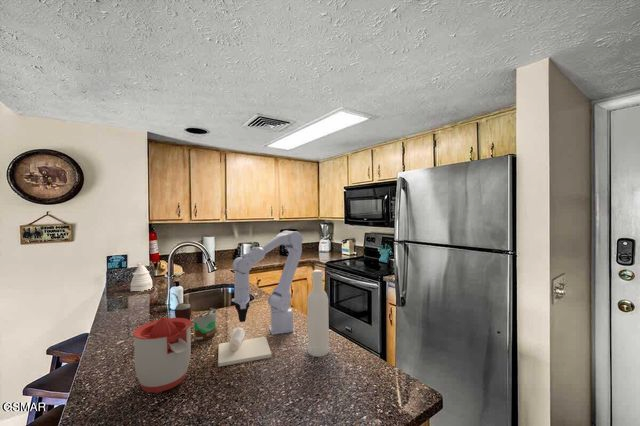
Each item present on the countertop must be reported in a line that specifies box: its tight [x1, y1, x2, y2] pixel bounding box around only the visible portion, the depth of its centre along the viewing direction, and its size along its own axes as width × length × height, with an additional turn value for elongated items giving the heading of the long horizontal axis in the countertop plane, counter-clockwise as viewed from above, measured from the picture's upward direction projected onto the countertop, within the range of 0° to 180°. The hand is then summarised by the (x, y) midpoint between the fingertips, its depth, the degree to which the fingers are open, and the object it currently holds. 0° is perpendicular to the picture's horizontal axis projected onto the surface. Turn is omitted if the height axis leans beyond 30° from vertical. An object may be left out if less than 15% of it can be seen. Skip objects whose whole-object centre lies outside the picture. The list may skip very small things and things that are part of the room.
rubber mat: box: [217, 336, 273, 368], centre depth 105 cm, size 18×15×1 cm
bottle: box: [306, 269, 330, 358], centre depth 104 cm, size 8×8×30 cm
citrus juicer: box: [132, 316, 192, 394], centre depth 86 cm, size 16×17×20 cm
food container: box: [192, 307, 218, 342], centre depth 118 cm, size 12×6×10 cm, turn 169°
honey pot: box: [130, 262, 153, 292], centre depth 195 cm, size 13×13×18 cm
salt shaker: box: [229, 326, 246, 351], centre depth 107 cm, size 5×5×11 cm
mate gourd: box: [171, 292, 192, 321], centre depth 136 cm, size 8×8×15 cm
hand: (242, 321), depth 113 cm, fingers closed
